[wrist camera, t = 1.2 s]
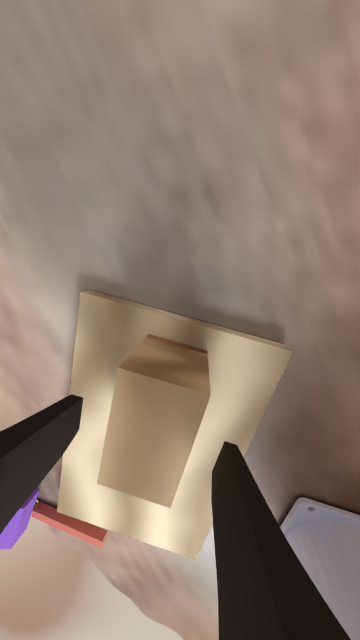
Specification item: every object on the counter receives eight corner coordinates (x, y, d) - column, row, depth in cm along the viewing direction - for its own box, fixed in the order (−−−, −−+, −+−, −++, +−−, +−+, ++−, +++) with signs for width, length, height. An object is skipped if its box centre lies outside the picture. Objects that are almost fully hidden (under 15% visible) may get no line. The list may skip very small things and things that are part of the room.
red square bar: (106, 530, 19) (102, 541, 18) (105, 536, 19) (100, 548, 18) (29, 496, 20) (22, 505, 19) (29, 502, 20) (21, 511, 19)
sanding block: (207, 350, 12) (210, 395, 7) (180, 433, 14) (170, 508, 9) (148, 333, 12) (118, 367, 8) (129, 417, 14) (96, 483, 9)
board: (284, 344, 12) (293, 351, 11) (196, 541, 18) (195, 560, 17) (91, 290, 13) (80, 291, 12) (65, 497, 19) (56, 512, 17)
